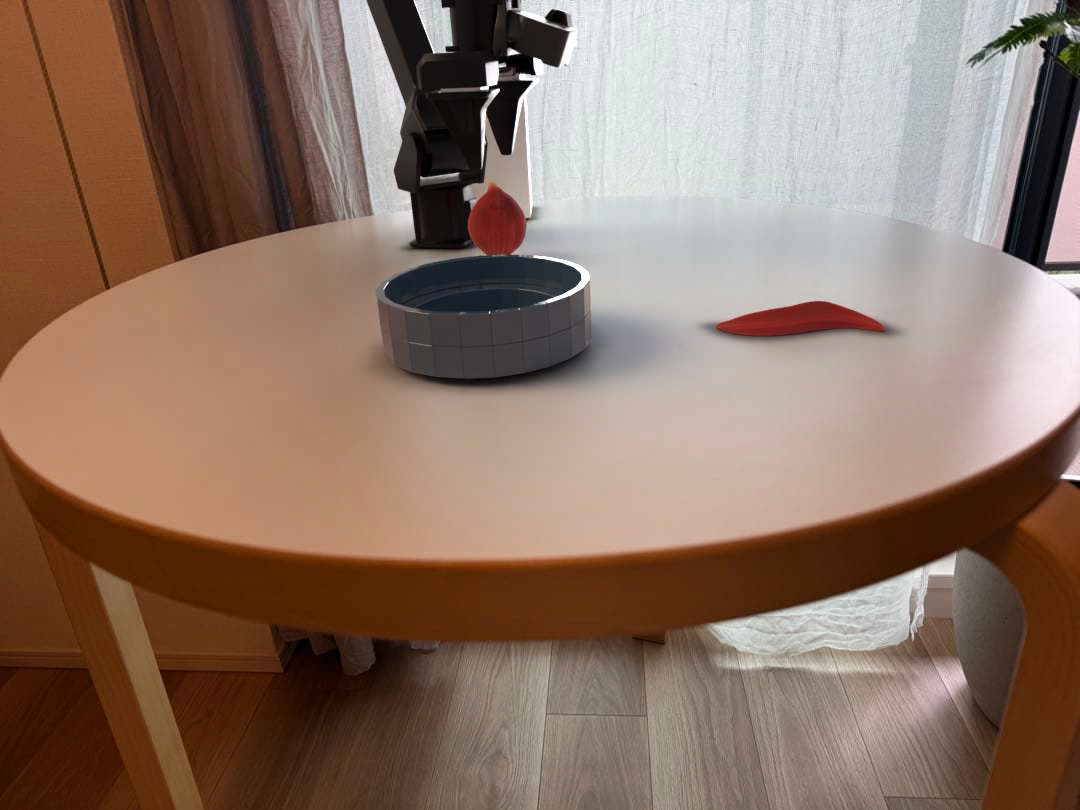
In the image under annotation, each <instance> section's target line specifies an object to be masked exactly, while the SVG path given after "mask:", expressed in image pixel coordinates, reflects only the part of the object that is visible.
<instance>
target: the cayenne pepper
mask: <svg viewBox="0 0 1080 810" xmlns="http://www.w3.org/2000/svg"><path fill="white" fill-rule="evenodd" d="M715 328H716V329H717V330H719V331H723V332H726V333H729V334H733V335H734V334H735V335H741V336H757V337H768V336H769V337H771V336H784V335H795V334H802V333H808V332H814V331H815V332H816V331H821V330H830V329H831V330H832V329H859V330H860V329H862V330H868V331H869V330H870V331H876V332H886V329H885V327H884V326H883V324H882V323H881V322H880V321H878V320H876V319H874V318H872V317H871V316H868V315H866V314H863V313H861V312H859V311H857V310H854V309H851V308H848V307H845V306H843V305H840V304H838V303H833V302H830V301H825V300H813V301H805V302H802V303H801V302H800V303H797V304H793V305H788V306H782V307H776V308H770V309H765V310H759V311H754V312H750V313H747V314H743V315H740V316H737V317H734V318H731V319H728V320H725V321H722V322H720V323H718V324H717V325H716V326H715Z"/></svg>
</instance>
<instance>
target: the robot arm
mask: <svg viewBox="0 0 1080 810" xmlns="http://www.w3.org/2000/svg"><path fill="white" fill-rule="evenodd" d="M366 4H367V7H368V9H369V11H370V14H371V17H372V20H373V22H374V25H375V28H376V30H377V33H378V35H379V38H380V41H381V43H382V47H383V49H384V52H385V55H386V57H387V61H388V63H389V65H390V68H391V71H392V73H393V76H394V79H395V81H396V84H397V87H398V89H399V92H400V95H401V98H402V101H403V103H404V106H405V109H404V114H403V118H402V122H401V126H400V129H399V135H400V138H401V144H400V147H399V151H398V153H397V156H396V160H395V164H394V167H393V174H394V178H395V182H396V186H397V189H398V190H401V191H404V192H408V193H409V197H410V204H411V214H412V221H413V231H414V236H415V237H414V239H413V240H411V241H409V247H410V248H443V249H444V248H445V249H446V248H448V249H449V248H451V249H453V248H455V249H461V248H465V247H467V246H468V245H470V244H471V243H474V242H473V241H472V239H471V238H470V235H469V231H468V219H469V215H470V213H471V211H472V209H473V207H474V205H475V204H476V202H477V201H478V199H477V198H476V197H473V187H472V184H476V183H478V184H481V183H484V177H485V168H486V158H487V147H488V142H487V138H486V135H485V118H486V115H487V118H488V121H489V123H490V126H491V129H492V132H493V135H494V138H495V140H496V143H497V145H498V148H499V150H500V153H501V155H511V154H512V153H513V147H514V142H515V136H516V131H517V126H518V120H519V115H520V110H521V106H522V101H523V98H524V96H525V95H526V96H527V95H528V93H529V92H530V91H531V90H532V88H534V87H535V85H537V84H538V83H539V81H540V78H526V75H530V76H531V77H532V76H541V75H544V65H547V66H550V67H554V68H558V69H559V68H560V69H561V67H562V66H565V67H568V66H569V64H570V60H571V57H572V53H573V49H574V48H575V47H576V46H577V45H578V38H577V36H578V33H579V31H578V30H579V29H578V28H576V27H573V21H572V14H571V13H570V12H567V11H565V10H562V9H559V8H551V9H550V10H549V12H548V13H547V14H546V15H545V16H544V17H543V16H541V15H539V14H533V13H531V12H527V11H524V10H523V0H440V4H441V9H449V18H450V31H451V42H452V45H445V46H444V49H445V51H441V52H439V51H438V52H435V50H434V48H433V45H432V43H431V40H430V38H429V34H428V32H427V29H426V26H425V24H424V21H423V19H422V16H421V14H420V11H419V9H418V5H417V3H416V1H415V0H366Z"/></svg>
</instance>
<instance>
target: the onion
mask: <svg viewBox="0 0 1080 810" xmlns="http://www.w3.org/2000/svg"><path fill="white" fill-rule="evenodd" d="M468 231H469V235H470V238H471V239H472V241H473V242H472V243H474V245H475V246H476V248H478V249H479V250H480V251H482V252H483V253H484V255H513V253H514V252H516V251H517V250H518V249H519V247H520V246H521V245H522V244H523V242H524V239H525V238H526V235H527V234H526V233H527V218H525V215H524V213H523V210H522V209H521V208H520V206H519V205H518V204H517V202H516V201H515V200H514V199H513V197H512V196H510V195H509V194H507V193H505V192H504V191H503V190H502V189H501V188H499V187H498V186H497V184H496V183H495V182H494V181H489V186H488V190H487V192H486V193H485V194H484V195H483V196H482V197H481V198H480V199H479V200H478V201H477V202H476V204H475V205H474V207H473V209H472V211H471V213H470V215H469V219H468Z"/></svg>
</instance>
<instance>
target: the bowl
mask: <svg viewBox="0 0 1080 810" xmlns="http://www.w3.org/2000/svg"><path fill="white" fill-rule="evenodd" d="M374 293H375V300H376V304H377V305H376V306H377V315H378V320H379V328H380V335H381V342H382V349H383V353H384V357H385V359H387V360H388V361H389V362H390V363H392V364H393V365H394V366H395V367H397V368H400V369H403V370H405V371H408V372H409V373H413V374H418V375H423V376H424V375H425V376H429V377H430V376H431V377H434V378H435V377H437V378H446V379H447V378H448V379H465V380H470V379H471V380H472V379H473V380H474V379H494V378H502V377H509V376H514V375H516V376H517V375H521V374H526V373H530V372H534V371H538V370H541V369H546V368H550V367H552V366H555V365H558V364H560V363H562V362H565V361H567V360H570V359H572V358H573V357H575V356H576V355H578V354H580V353H581V352H582V351H584V350H585V349H586V347H587V346H588V345H589V343H590V342H591V339H592V306H591V305H592V304H591V278H590V273H589V272H588V271H587V270H586V269H585V268H584V267H582V265H580V264H576V263H574V262H571V261H569V260H566V259H565V260H564V259H560V258H554V257H551V256H543V255H542V256H539V255H529V254H511V255H486V254H484V255H472V256H464V257H457V258H456V257H455V258H449V259H444V260H438V261H433V262H428V263H425V264H420V265H417V266H413V267H410V268H407V269H405V270H403V271H402V270H401V271H400V272H399V271H398V272H397V273H394V274H392V275H390V276H388V277H387V278H386V279H384V280H382V281H381V282H380V283H379V284H378V285H377V287H376V288H375V290H374Z"/></svg>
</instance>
